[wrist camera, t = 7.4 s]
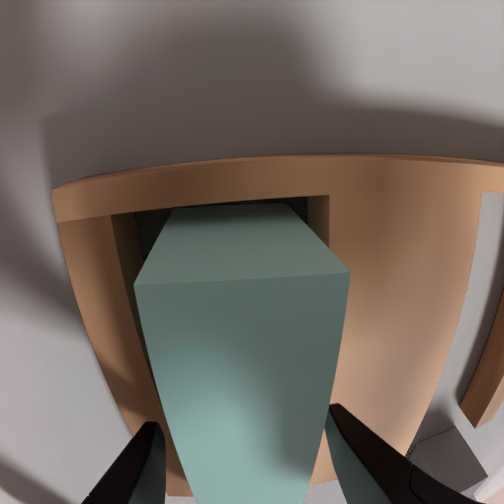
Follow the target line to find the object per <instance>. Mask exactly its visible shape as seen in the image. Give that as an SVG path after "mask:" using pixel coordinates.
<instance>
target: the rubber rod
mask: <svg viewBox="0 0 504 504" xmlns="http://www.w3.org/2000/svg"><path fill="white" fill-rule="evenodd" d="M409 460H410V461H411V462H412V465H413V464H415V465H416V466H417V467H419V468H420V469H421V470H423V471H424V472H426V473H427V474H428V475H430V476H431V477H433V478H434V479H436V480H437V481H439V482H441V483H442V484H444V485H446V486H448V487H450V488H451V489H453V490H455V491H457V492H459V493H461V494H463V495H464V496H466V497H468V498H469V497H470V496H471V495H472V494H473V493H474V492H475V491H476V490H477V489H478V488H479V487H480V485H481V484H482V483H483V482H484V481H485V480H486V479H487V478H488V475H487V474H486V472H485V471H484V469H483V467H482V466H481V464H480V463H479V461H478V460H477V458H476V456H475V455H474V453H473V452H472V450H471V449H470V447H469V446H468V444H467V443H466V441H465V440H464V438H463V437H462V435H461V434H460V432H459V431H458V429H457V428H456V427H454V428H451V429H449V430H447V431H445V432H443V433H440V434H438V435H436V436H433V437H431V438H429V439H426V440H424V441H421V442H419V443H416V445H415V447H414V449H413V452H412V454H411V456H410V458H409Z"/></svg>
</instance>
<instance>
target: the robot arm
mask: <svg viewBox="0 0 504 504" xmlns="http://www.w3.org/2000/svg"><path fill="white" fill-rule="evenodd" d="M324 429H325V433H326V438H327V442H328V446H329V451H330V455H331V459H332V463H333V467H334V470H335V473H336V475H337V478H338V481H339V483H340V486H341V488H342V491H343V494H344V496H345V499H346V502H347V504H484V503H480V502H477V501H475V500H472V499H470V498H468V497H466V496H464V495H463V494H461V493H459V492H457V491H455V490H453V489H451V488H450V487H448V486H446V485H444V484H442V483H441V482H439V481H437V480H436V479H434V478H433V477H431V476H430V475H428V474H427V473H426V472H424V471H423V470H421V469H420V468H419V467H417V466H416V465H415V464H413V465H412V462H411V461H410V460H408V459H407V458H406V457H404V456H403V455H402V454H401V453H399V452H398V451H397V450H396V449H394V448H393V447H392V446H391V445H389V444H388V443H387V442H386V441H384V440H383V439H382V438H381V437H379V436H378V435H377V434H376V433H375V432H373V431H372V430H371V429H370V428H368V427H367V426H366V425H365V424H364V423H362V422H361V421H360V420H359V419H358V418H356V417H355V416H354V415H353V414H352V413H350V412H349V411H348V410H347V409H346V408H345V407H343V406H342V405H341V404H340V403H334V404H329V409H328V413H327V418H326V422H325V427H324ZM165 492H166V441H165V436H164V434H163V431H162V429H161V427H160V424H159V423H158V422H157V421H146V422H144V423H143V425H142V426H141V427H140V429H139V430H138V431H137V433H136V434H135V435H134V437H133V438H132V439H131V440H130V442H129V443H128V444H127V446H126V447H125V448H124V450H123V451H122V452H121V453H120V455H119V456H118V457H117V459H116V460H115V461H114V463H113V464H112V465H111V466H110V468H109V469H108V470H107V472H106V473H105V474H104V475H103V477H102V478H101V479H100V480H99V482H98V483H97V484H96V486H95V487H94V488H93V489H92V491H91V492H90V493H89V496H87V497H86V498H85V499H84V501H83V502H82V503H81V504H164V503H165Z"/></svg>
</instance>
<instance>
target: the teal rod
mask: <svg viewBox="0 0 504 504" xmlns="http://www.w3.org/2000/svg"><path fill="white" fill-rule="evenodd" d="M350 274H351V272H350V271H349V270H348V269H347V268H346V266H345V265H344V264H343V263H342V262H341V261H340V260H339V259H338V258H337V257H336V256H335V255H334V253H333V252H332V251H331V250H330V249H329V248H328V247H327V246H326V245H325V244H324V243H323V242H322V241H321V240H320V238H319V237H318V236H317V235H316V234H315V233H314V232H313V231H312V230H311V229H310V228H309V227H308V226H307V225H306V224H305V223H304V222H303V221H302V220H301V219H300V217H299V216H298V215H297V214H296V213H295V212H294V211H293V210H292V209H291V208H290V207H289V206H288V205H287V204H253V205H228V206H207V207H189V208H174V209H173V211H172V213H171V215H170V216H169V218H168V220H167V222H166V224H165V225H164V227H163V229H162V231H161V233H160V235H159V236H158V238H157V240H156V242H155V244H154V246H153V248H152V250H151V251H150V253H149V255H148V257H147V259H146V261H145V263H144V265H143V267H142V269H141V271H140V273H139V275H138V277H137V279H136V281H135V283H134V290H135V295H136V300H137V306H138V311H139V315H140V320H141V325H142V329H143V334H144V338H145V343H146V347H147V351H148V355H149V359H150V363H151V367H152V371H153V375H154V378H155V382H156V386H157V389H158V393H159V396H160V400H161V403H162V407H163V410H164V413H165V417H166V420H167V423H168V426H169V429H170V432H171V436H172V439H173V442H174V445H175V447H176V450H177V453H178V456H179V459H180V462H181V464H182V467H183V470H184V473H185V475H186V478H187V480H188V483H189V486H190V488H191V491H192V493H193V496H194V498H195V501H196V503H197V504H304V501H305V498H306V495H307V491H308V488H309V485H310V481H311V478H312V474H313V470H314V467H315V463H316V459H317V455H318V451H319V447H320V443H321V439H322V435H323V431H324V427H325V422H326V418H327V413H328V409H329V404H330V399H331V394H332V389H333V384H334V379H335V374H336V369H337V363H338V357H339V352H340V346H341V339H342V333H343V327H344V320H345V313H346V306H347V298H348V291H349V282H350Z"/></svg>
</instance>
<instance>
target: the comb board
mask: <svg viewBox="0 0 504 504" xmlns="http://www.w3.org/2000/svg"><path fill="white" fill-rule="evenodd" d="M482 192H504V163H502V162H494V161H485V160H475V159H465V158H453V157H439V156H423V155H401V154H296V155H273V156H256V157H242V158H229V159H217V160H206V161H196V162H187V163H178V164H170V165H162V166H154V167H147V168H140V169H133V170H126V171H120V172H114V173H108V174H102V175H96V176H90V177H85V178H81V179H78V180H76V181H73V182H70V183H68V184H65V185H63V186H60V187H58V188H55V189H53V190H51V196H52V201H53V207H54V212H55V217H56V222H57V227H58V232H59V236H60V241H61V245H62V249H63V253H64V257H65V261H66V265H67V269H68V273H69V276H70V280H71V283H72V287H73V290H74V294H75V297H76V300H77V303H78V306H79V309H80V313H81V316H82V319H83V321H84V324H85V327H86V330H87V333H88V336H89V338H90V341H91V344H92V346H93V349H94V352H95V354H96V357H97V359H98V362H99V364H100V367H101V369H102V372H103V374H104V376H105V379H106V381H107V383H108V386H109V388H110V390H111V392H112V395H113V397H114V399H115V401H116V403H117V405H118V407H119V410H120V412H121V414H122V416H123V418H124V420H125V422H126V424H127V426H128V428H129V430H130V431H131V433H132V435H133V437H134V435H135V434H136V433H137V431H138V430H139V429H140V427H141V426H142V425H143V423H144V422H146V421H157V422H158V423H159V424H160V427H161V429H162V431H163V434H164V436H165V441H166V493H167V495H168V496H193V493H192V491H191V488H190V486H189V483H188V480H187V478H186V475H185V473H184V470H183V467H182V464H181V462H180V459H179V456H178V453H177V450H176V447H175V445H174V442H173V439H172V436H171V432H170V429H169V426H168V423H167V420H166V417H165V413H164V410H163V407H162V403H161V400H160V396H159V393H158V389H157V386H156V382H155V378H154V375H153V371H152V367H151V363H150V359H149V355H148V351H147V347H146V343H145V338H144V334H143V329H142V325H141V320H140V315H139V311H138V306H137V300H136V295H135V290H134V283H135V281H136V279H137V277H138V275H139V273H140V271H141V269H142V267H143V260H142V254H141V249H140V243H139V238H138V232H137V226H136V220H135V213H134V212H136V211H145V210H153V209H162V208H171V207H180V206H189V205H199V204H210V203H220V202H232V201H243V200H256V199H269V198H284V197H299V196H307V208H308V227H309V228H310V229H311V230H312V231H313V232H314V233H315V234H316V235H317V236H318V237H319V238H320V240H321V241H322V242H323V243H324V244H325V245H326V246H327V247H328V248H329V249H330V250H331V251H332V252H333V253H334V255H335V256H336V257H337V258H338V259H339V260H340V261H341V262H342V263H343V264H344V265H345V266H346V268H347V269H348V270H349V271H350V272H351V274H350V282H349V291H348V298H347V306H346V313H345V320H344V327H343V333H342V339H341V346H340V352H339V357H338V363H337V369H336V374H335V379H334V384H333V389H332V394H331V399H330V404H334V403H340V404H341V405H342V406H343V407H345V408H346V409H347V410H348V411H349V412H350V413H352V414H353V415H354V416H355V417H356V418H358V419H359V420H360V421H361V422H362V423H364V424H365V425H366V426H367V427H368V428H370V429H371V430H372V431H373V432H375V433H376V434H377V435H378V436H379V437H381V438H382V439H383V440H384V441H386V442H387V443H388V444H389V445H391V446H392V447H393V448H394V449H396V450H397V451H398V452H399V453H401V454H402V455H403V456H405V454H406V453H407V451H408V449H409V447H410V445H411V443H412V441H413V439H414V437H415V435H416V433H417V431H418V428H419V426H420V424H421V422H422V420H423V418H424V415H425V413H426V411H427V409H428V406H429V404H430V402H431V399H432V397H433V394H434V392H435V389H436V387H437V384H438V382H439V379H440V376H441V374H442V371H443V368H444V365H445V362H446V360H447V357H448V354H449V351H450V348H451V344H452V341H453V338H454V335H455V331H456V328H457V325H458V321H459V318H460V314H461V310H462V306H463V302H464V298H465V294H466V290H467V285H468V281H469V276H470V271H471V266H472V261H473V256H474V250H475V244H476V238H477V231H478V224H479V216H480V207H481V196H482ZM503 400H504V289H503V293H502V297H501V300H500V304H499V307H498V310H497V314H496V317H495V320H494V323H493V326H492V329H491V332H490V335H489V338H488V341H487V343H486V346H485V349H484V351H483V354H482V357H481V359H480V362H479V364H478V367H477V369H476V371H475V374H474V376H473V378H472V381H471V383H470V385H469V387H468V389H467V392H466V394H465V396H464V398H463V400H462V402H461V404H460V406H459V408H460V409H461V410H462V412H463V413H464V414H465V416H466V417H467V419H468V420H469V421H470V423H471V424H472V425H473V427H474V428H477V427H479V426H481V425H483V424H485V423H487V422H488V421H490V420H492V419H493V417H494V415H495V414H496V412H497V410H498V408H499V407H500V405H501V403H502V401H503ZM335 479H338V478H337V475H336V473H335V470H334V467H333V463H332V459H331V455H330V451H329V446H328V442H327V438H326V433H325V429H324V431H323V435H322V439H321V443H320V447H319V451H318V455H317V459H316V463H315V467H314V470H313V474H312V478H311V481H310V485H312V484H317V483H322V482H326V481H331V480H335Z"/></svg>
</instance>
